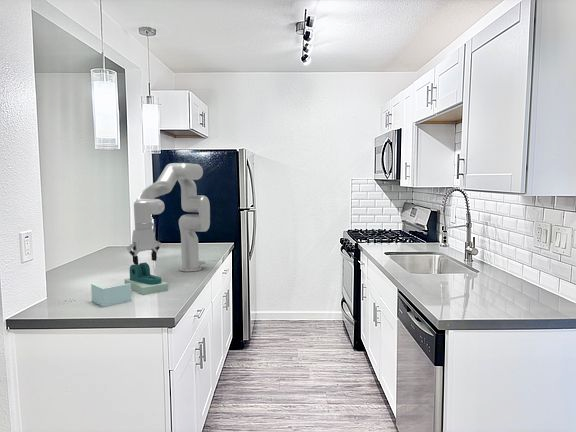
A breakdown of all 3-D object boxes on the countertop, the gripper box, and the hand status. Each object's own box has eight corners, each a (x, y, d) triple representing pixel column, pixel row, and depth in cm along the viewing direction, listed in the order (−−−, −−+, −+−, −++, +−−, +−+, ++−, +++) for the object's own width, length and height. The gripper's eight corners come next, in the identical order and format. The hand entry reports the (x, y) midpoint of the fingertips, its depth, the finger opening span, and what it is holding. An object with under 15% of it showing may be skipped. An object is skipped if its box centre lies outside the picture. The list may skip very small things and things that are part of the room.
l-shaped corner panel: (131, 300, 185) (130, 283, 184) (103, 306, 176) (102, 288, 176) (119, 295, 193) (118, 279, 192) (91, 301, 185) (91, 283, 184)
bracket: (129, 279, 208) (129, 263, 207) (142, 277, 213) (141, 261, 213) (152, 285, 197) (151, 268, 196) (164, 282, 202) (163, 266, 202)
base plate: (148, 283, 218) (148, 275, 217) (168, 291, 201) (168, 283, 201) (124, 287, 210) (124, 279, 209) (143, 296, 193) (143, 287, 193)
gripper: (155, 224, 212) (156, 258, 214) (122, 228, 199) (124, 264, 201) (163, 225, 207) (165, 260, 209) (130, 229, 194) (132, 266, 196)
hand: (145, 262), depth 205 cm, fingers open, 9 cm apart
